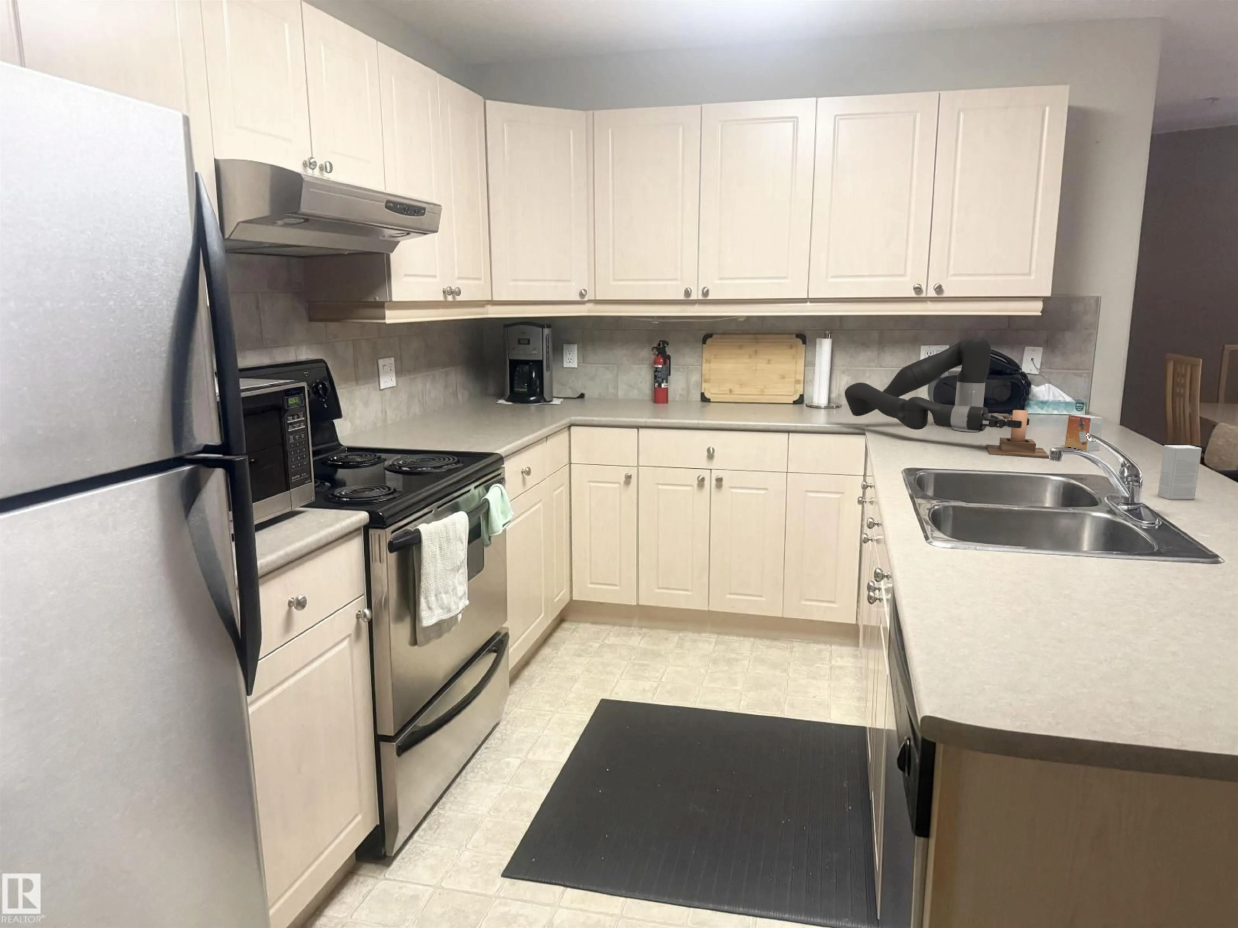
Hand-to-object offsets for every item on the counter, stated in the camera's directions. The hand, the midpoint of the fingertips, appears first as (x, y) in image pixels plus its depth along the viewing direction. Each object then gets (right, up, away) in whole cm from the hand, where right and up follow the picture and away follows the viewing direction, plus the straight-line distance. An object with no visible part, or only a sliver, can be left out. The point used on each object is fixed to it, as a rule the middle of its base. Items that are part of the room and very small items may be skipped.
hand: (1025, 423), depth 240 cm
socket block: (-1, -9, +3) cm, 9 cm away
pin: (-1, -8, +3) cm, 9 cm away
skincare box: (+6, -20, -56) cm, 60 cm away
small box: (+23, -8, +11) cm, 26 cm away
